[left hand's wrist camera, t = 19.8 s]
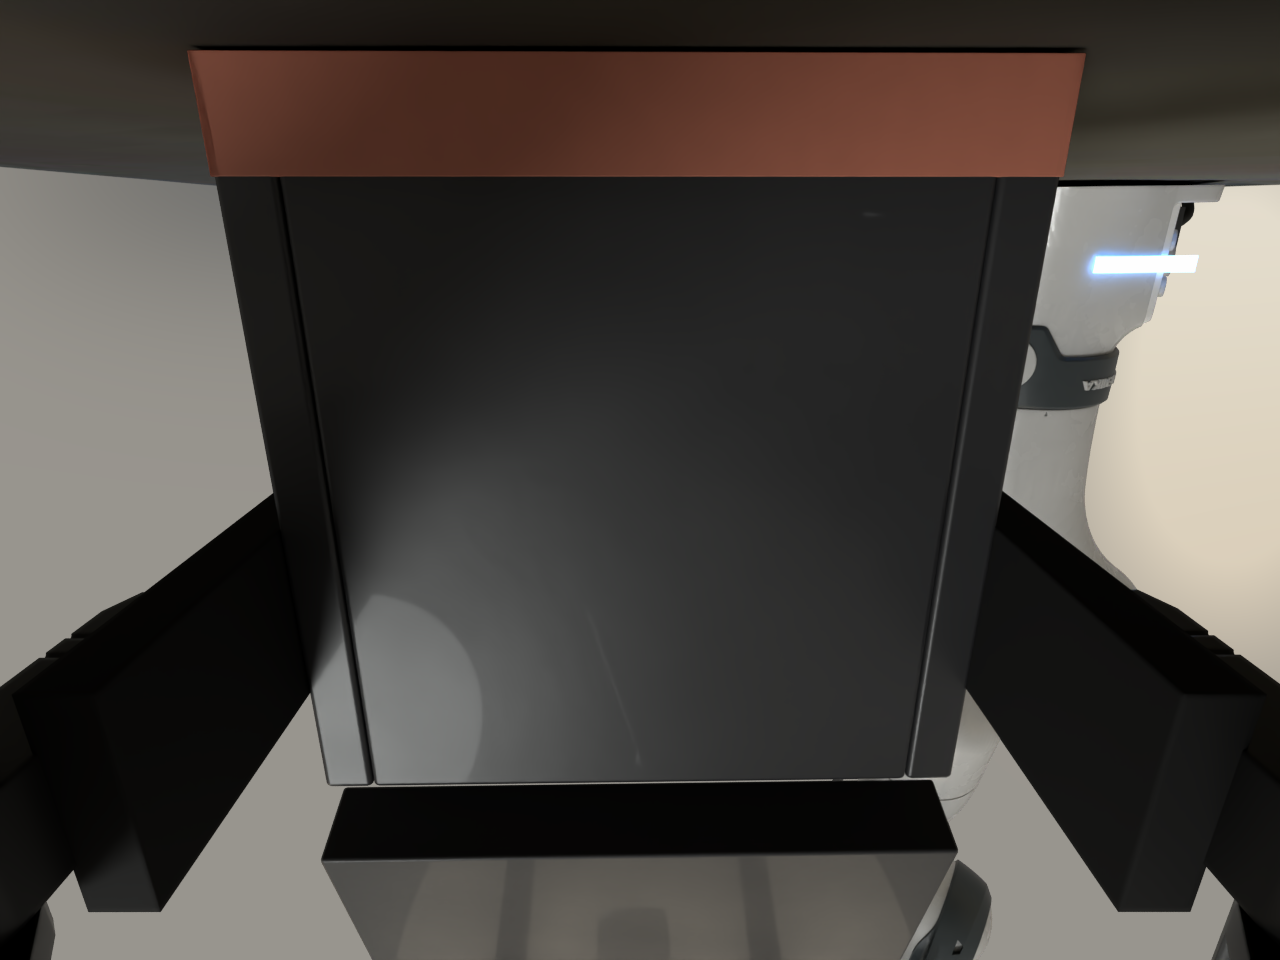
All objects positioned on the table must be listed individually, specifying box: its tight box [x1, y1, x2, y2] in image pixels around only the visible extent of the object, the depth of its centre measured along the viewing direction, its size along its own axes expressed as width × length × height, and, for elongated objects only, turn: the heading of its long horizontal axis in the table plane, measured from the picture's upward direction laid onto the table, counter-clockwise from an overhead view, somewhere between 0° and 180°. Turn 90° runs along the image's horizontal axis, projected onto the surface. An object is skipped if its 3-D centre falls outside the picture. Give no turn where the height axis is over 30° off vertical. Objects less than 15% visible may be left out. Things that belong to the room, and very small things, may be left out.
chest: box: [187, 50, 1086, 786], centre depth 15 cm, size 11×10×10 cm
